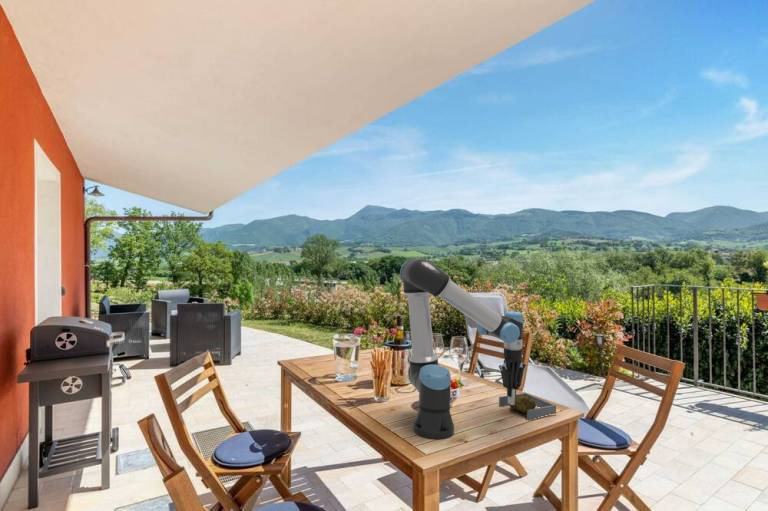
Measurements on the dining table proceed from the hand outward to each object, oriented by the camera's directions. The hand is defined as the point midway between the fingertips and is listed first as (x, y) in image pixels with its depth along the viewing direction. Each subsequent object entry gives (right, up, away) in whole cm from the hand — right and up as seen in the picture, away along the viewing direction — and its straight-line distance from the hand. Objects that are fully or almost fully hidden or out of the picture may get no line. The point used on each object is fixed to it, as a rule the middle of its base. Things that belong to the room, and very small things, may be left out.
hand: (511, 403), depth 181 cm
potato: (+5, -4, 0) cm, 6 cm away
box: (+8, -4, +4) cm, 10 cm away
